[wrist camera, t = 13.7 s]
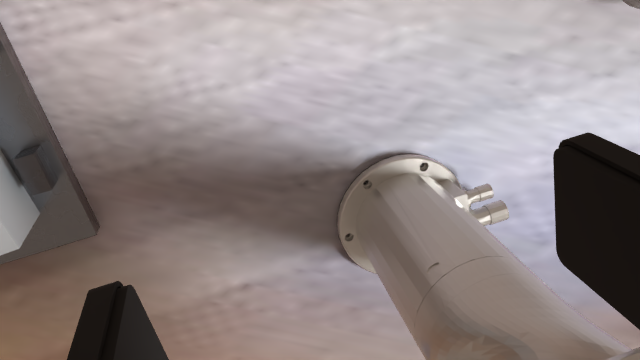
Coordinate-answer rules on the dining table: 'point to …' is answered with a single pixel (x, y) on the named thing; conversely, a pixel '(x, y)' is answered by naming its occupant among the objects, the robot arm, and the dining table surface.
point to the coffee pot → (633, 3)
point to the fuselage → (14, 209)
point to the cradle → (39, 164)
